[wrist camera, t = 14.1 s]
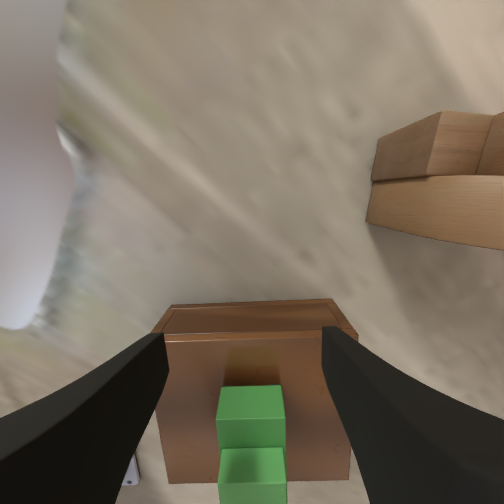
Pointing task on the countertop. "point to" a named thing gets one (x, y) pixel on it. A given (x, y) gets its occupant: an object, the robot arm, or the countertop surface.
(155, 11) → the countertop surface
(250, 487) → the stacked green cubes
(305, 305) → the wooden box
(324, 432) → the lid
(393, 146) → the wooden toy
